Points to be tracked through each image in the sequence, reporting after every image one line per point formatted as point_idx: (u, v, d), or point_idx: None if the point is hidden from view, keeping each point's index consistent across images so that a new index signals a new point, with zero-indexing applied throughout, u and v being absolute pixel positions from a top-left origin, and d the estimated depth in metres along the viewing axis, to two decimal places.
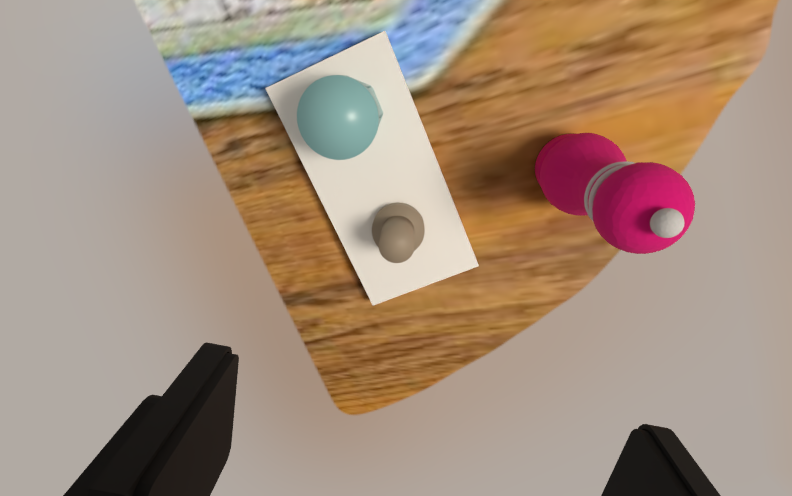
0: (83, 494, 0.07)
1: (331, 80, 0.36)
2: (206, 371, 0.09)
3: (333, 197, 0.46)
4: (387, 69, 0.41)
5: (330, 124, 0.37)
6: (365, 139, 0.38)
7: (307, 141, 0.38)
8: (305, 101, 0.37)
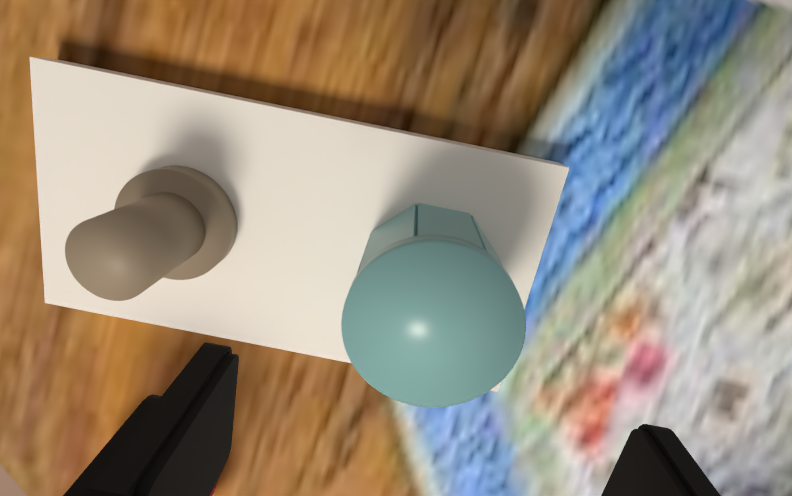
0: (83, 494, 0.07)
1: (502, 366, 0.17)
2: (206, 371, 0.09)
3: (305, 144, 0.21)
4: None
5: (432, 312, 0.16)
6: (361, 351, 0.17)
7: (433, 247, 0.16)
8: (506, 298, 0.16)
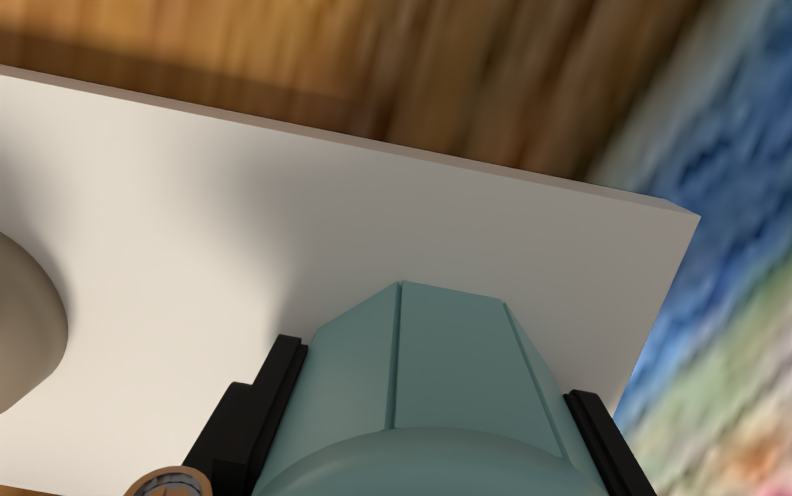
0: (197, 466, 0.08)
1: None
2: (287, 359, 0.10)
3: (179, 170, 0.10)
4: None
5: None
6: None
7: None
8: None
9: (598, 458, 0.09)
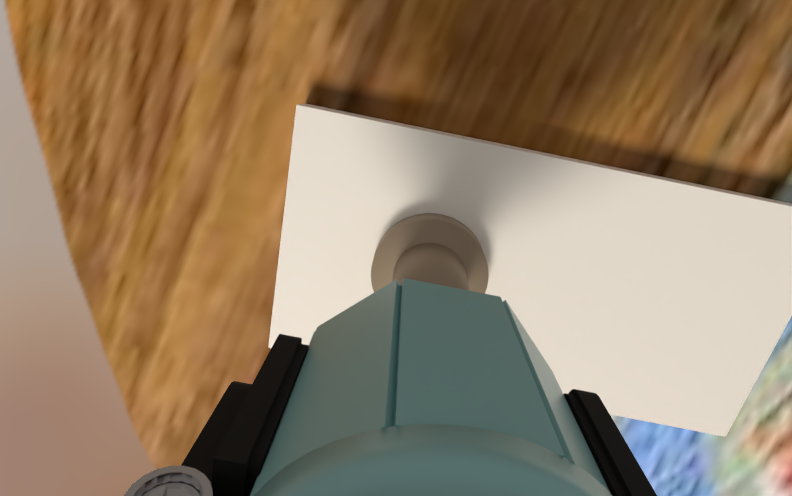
0: (197, 466, 0.08)
1: None
2: (287, 359, 0.10)
3: (572, 192, 0.20)
4: (677, 409, 0.23)
5: None
6: None
7: (438, 494, 0.05)
8: None
9: (598, 458, 0.09)
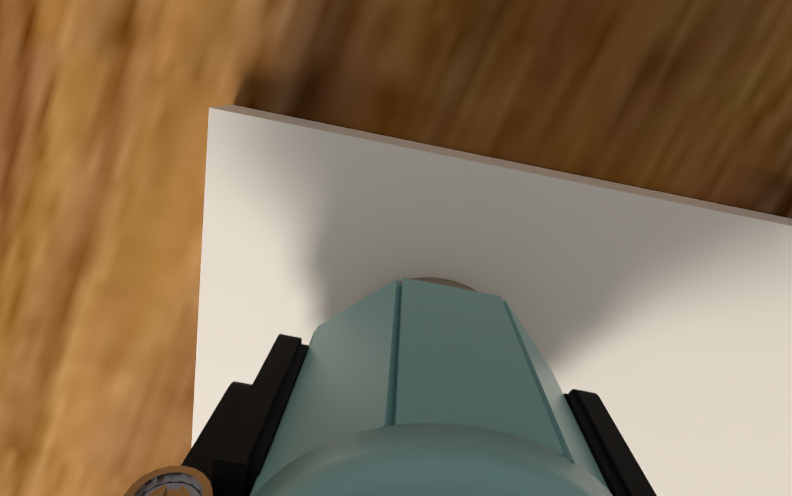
0: (197, 466, 0.08)
1: None
2: (287, 359, 0.10)
3: (654, 247, 0.13)
4: None
5: None
6: None
7: (438, 493, 0.05)
8: None
9: (598, 458, 0.09)
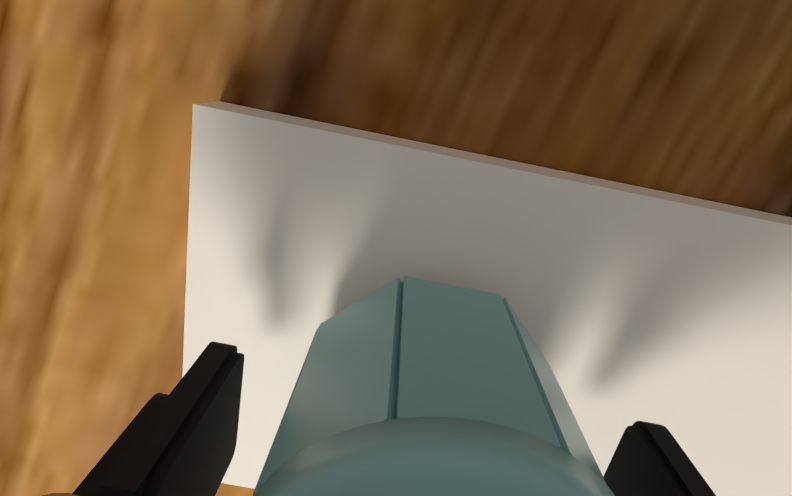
0: (93, 490, 0.07)
1: None
2: (213, 369, 0.09)
3: (661, 250, 0.12)
4: None
5: None
6: None
7: (439, 483, 0.06)
8: None
9: None
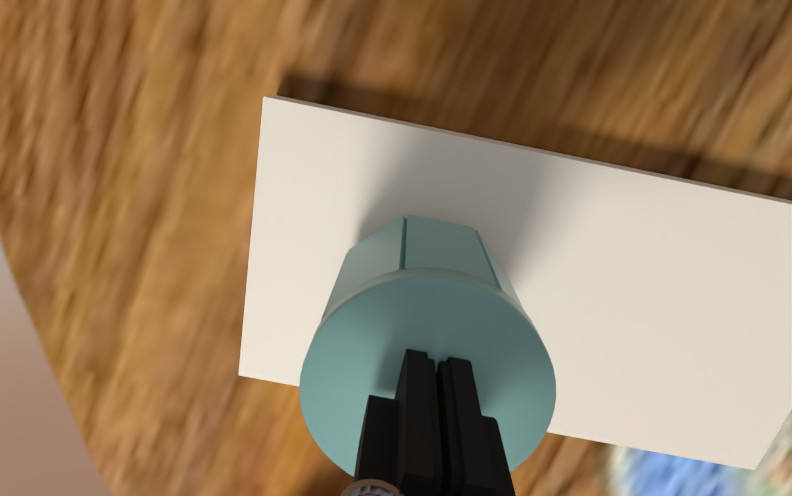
0: (372, 478, 0.08)
1: (522, 445, 0.12)
2: (425, 374, 0.10)
3: (587, 199, 0.17)
4: (702, 441, 0.21)
5: None
6: (328, 426, 0.12)
7: (427, 289, 0.11)
8: (529, 358, 0.11)
9: (446, 416, 0.09)
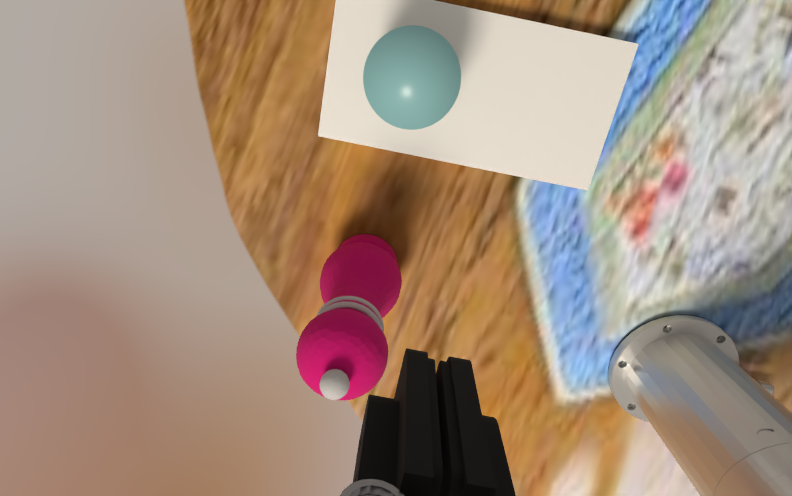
0: (372, 478, 0.08)
1: (449, 100, 0.31)
2: (425, 374, 0.10)
3: (490, 31, 0.36)
4: (558, 172, 0.40)
5: (411, 67, 0.31)
6: (373, 93, 0.31)
7: (411, 28, 0.30)
8: (450, 58, 0.31)
9: (446, 416, 0.09)
